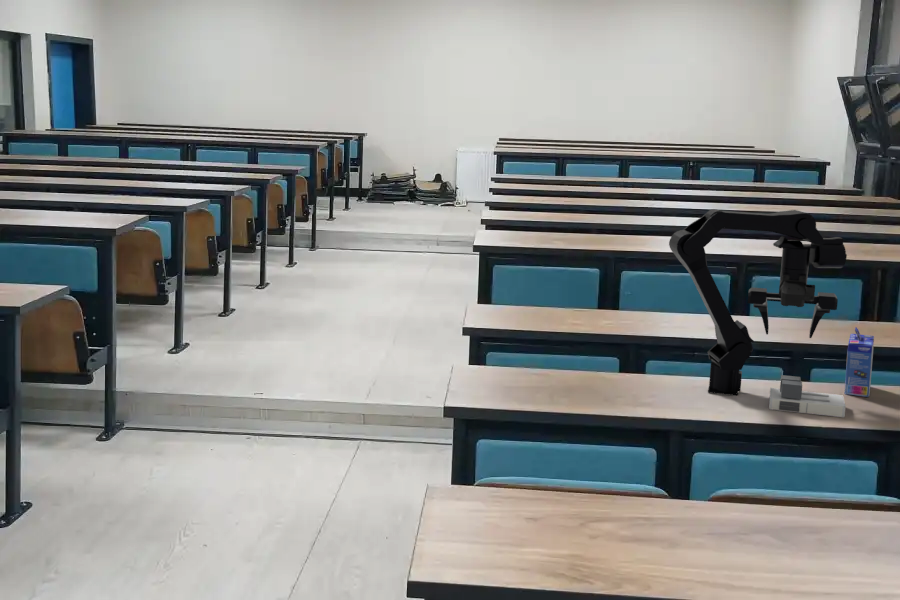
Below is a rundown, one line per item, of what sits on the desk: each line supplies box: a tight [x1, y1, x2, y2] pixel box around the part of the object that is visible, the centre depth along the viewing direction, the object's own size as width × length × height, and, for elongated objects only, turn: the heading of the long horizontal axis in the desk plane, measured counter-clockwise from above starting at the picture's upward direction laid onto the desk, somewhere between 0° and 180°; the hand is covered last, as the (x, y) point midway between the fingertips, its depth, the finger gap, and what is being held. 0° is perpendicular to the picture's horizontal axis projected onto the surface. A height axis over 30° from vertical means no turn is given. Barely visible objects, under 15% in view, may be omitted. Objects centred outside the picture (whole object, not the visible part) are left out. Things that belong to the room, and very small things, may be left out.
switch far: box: [779, 374, 802, 392], centre depth 207 cm, size 4×3×3 cm
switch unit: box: [768, 387, 846, 418], centre depth 204 cm, size 15×8×3 cm, turn 71°
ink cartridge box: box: [844, 326, 875, 398], centre depth 217 cm, size 10×6×14 cm, turn 155°
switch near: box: [781, 380, 803, 399], centre depth 203 cm, size 4×3×3 cm
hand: (788, 335), depth 214 cm, fingers open, 9 cm apart
